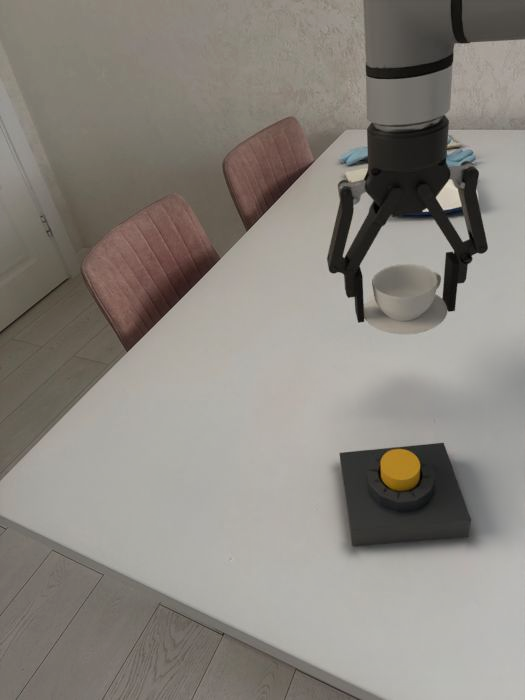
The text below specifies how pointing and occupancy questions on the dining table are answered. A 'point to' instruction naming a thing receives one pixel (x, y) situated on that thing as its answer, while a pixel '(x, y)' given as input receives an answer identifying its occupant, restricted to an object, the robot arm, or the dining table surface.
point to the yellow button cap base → (403, 499)
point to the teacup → (405, 300)
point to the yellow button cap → (400, 469)
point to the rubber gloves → (362, 153)
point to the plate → (447, 199)
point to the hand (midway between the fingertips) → (403, 310)
